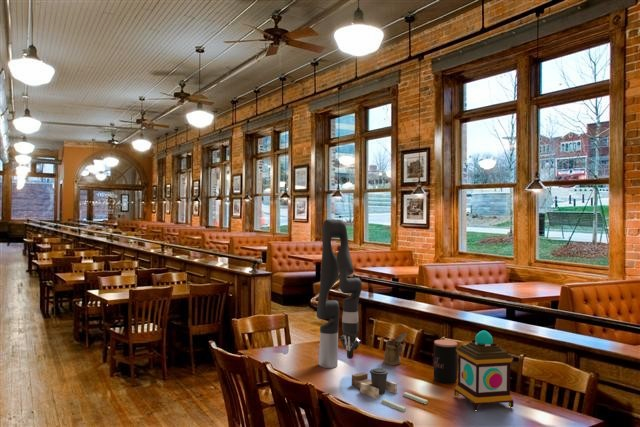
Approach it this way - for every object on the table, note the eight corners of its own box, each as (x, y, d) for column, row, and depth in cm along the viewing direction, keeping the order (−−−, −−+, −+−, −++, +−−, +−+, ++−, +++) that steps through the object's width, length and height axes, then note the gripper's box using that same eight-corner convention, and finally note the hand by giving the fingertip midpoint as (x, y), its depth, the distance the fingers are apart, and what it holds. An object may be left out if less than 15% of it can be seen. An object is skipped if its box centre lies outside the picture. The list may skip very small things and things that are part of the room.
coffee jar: (430, 377, 242) (431, 339, 242) (452, 376, 243) (452, 339, 243) (437, 384, 231) (438, 345, 231) (460, 384, 232) (460, 345, 232)
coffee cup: (387, 389, 223) (388, 367, 223) (388, 396, 215) (388, 372, 215) (369, 388, 224) (369, 366, 224) (369, 395, 216) (369, 372, 216)
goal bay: (381, 402, 208) (381, 399, 208) (405, 394, 217) (405, 392, 217) (403, 411, 198) (403, 408, 198) (427, 403, 207) (427, 400, 207)
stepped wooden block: (360, 392, 219) (360, 383, 219) (380, 386, 227) (380, 377, 227) (376, 399, 212) (376, 389, 212) (397, 392, 219) (397, 383, 219)
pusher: (351, 385, 228) (351, 374, 228) (362, 382, 232) (363, 372, 232) (365, 390, 221) (365, 380, 221) (377, 387, 225) (377, 377, 225)
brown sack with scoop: (397, 368, 254) (398, 333, 254) (379, 362, 265) (380, 328, 265) (410, 366, 259) (411, 331, 259) (392, 359, 270) (392, 326, 270)
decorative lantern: (449, 395, 217) (450, 326, 217) (491, 392, 221) (492, 324, 222) (474, 413, 198) (475, 337, 198) (518, 410, 202) (519, 335, 202)
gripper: (335, 319, 237) (334, 356, 237) (353, 324, 227) (353, 362, 226) (346, 317, 242) (346, 354, 241) (366, 322, 231) (365, 360, 231)
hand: (350, 358), depth 234 cm, fingers closed
